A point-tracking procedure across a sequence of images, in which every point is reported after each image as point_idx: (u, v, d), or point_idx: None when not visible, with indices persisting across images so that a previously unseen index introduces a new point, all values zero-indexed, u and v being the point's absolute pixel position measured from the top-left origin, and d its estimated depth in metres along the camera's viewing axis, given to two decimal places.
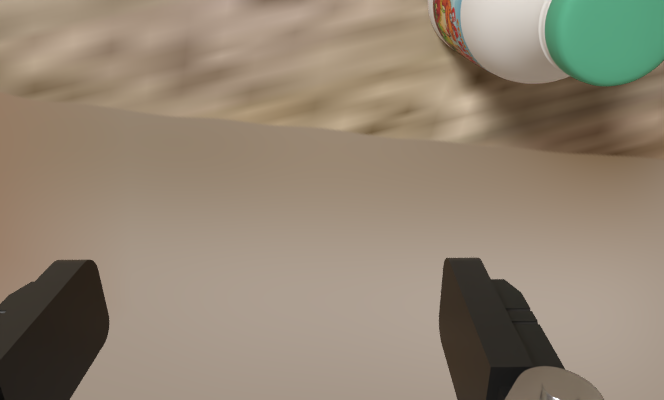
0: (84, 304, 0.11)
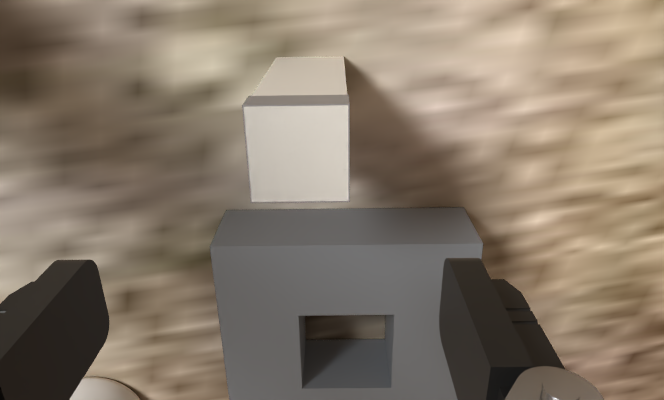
0: (84, 304, 0.11)
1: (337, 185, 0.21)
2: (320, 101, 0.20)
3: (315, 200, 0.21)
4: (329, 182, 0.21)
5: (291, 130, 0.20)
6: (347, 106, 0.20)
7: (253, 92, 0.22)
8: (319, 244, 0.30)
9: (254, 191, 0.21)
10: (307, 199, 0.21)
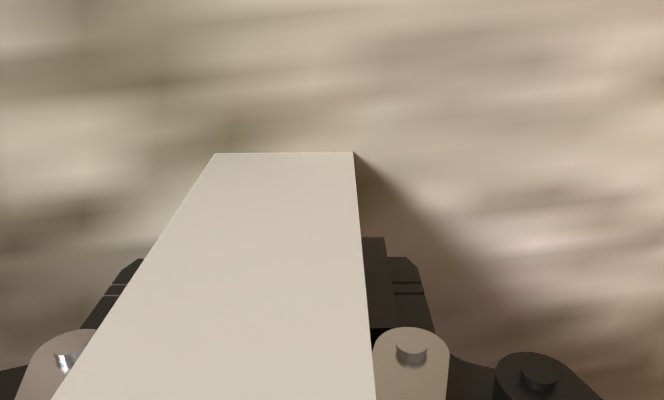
0: None
1: None
2: None
3: None
4: None
5: None
6: None
7: None
8: None
9: None
10: None
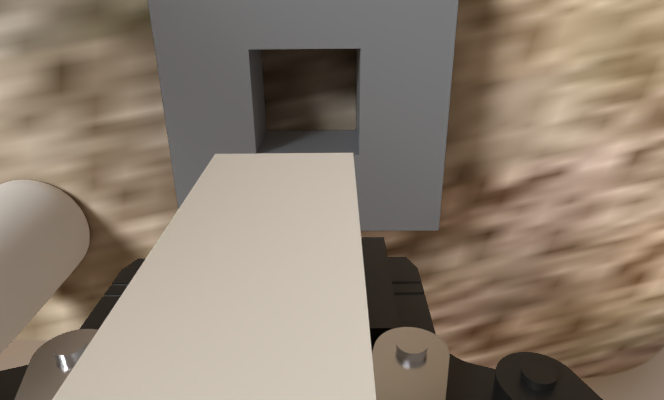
0: None
1: None
2: None
3: None
4: None
5: None
6: None
7: None
8: None
9: None
10: None
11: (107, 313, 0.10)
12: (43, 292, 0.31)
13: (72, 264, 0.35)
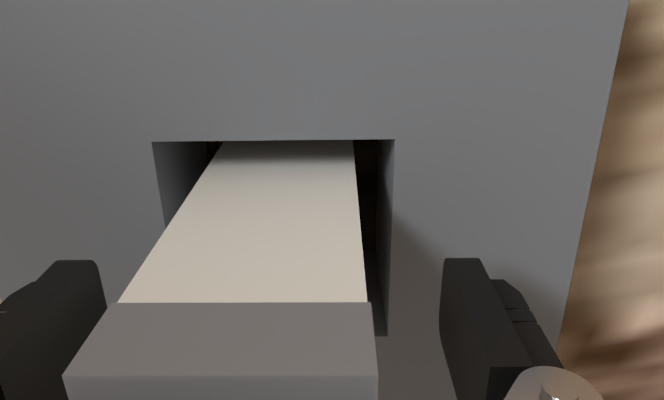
0: (85, 304, 0.11)
1: None
2: (294, 349, 0.07)
3: None
4: None
5: None
6: (372, 382, 0.07)
7: (135, 275, 0.09)
8: None
9: None
10: None
11: None
12: None
13: None
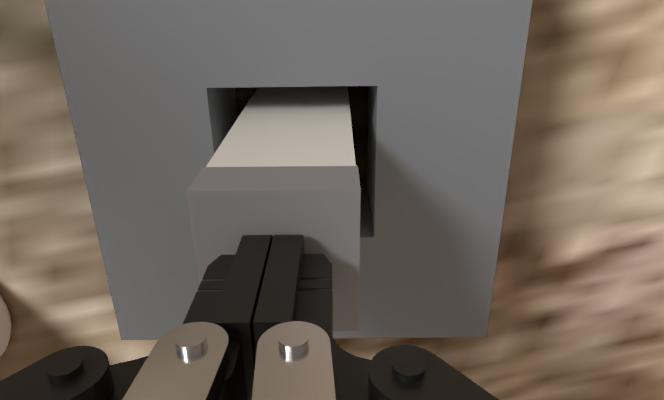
0: None
1: (340, 308, 0.13)
2: (313, 182, 0.13)
3: None
4: None
5: (266, 228, 0.12)
6: (357, 193, 0.12)
7: (212, 157, 0.14)
8: None
9: None
10: None
11: (206, 308, 0.10)
12: None
13: None
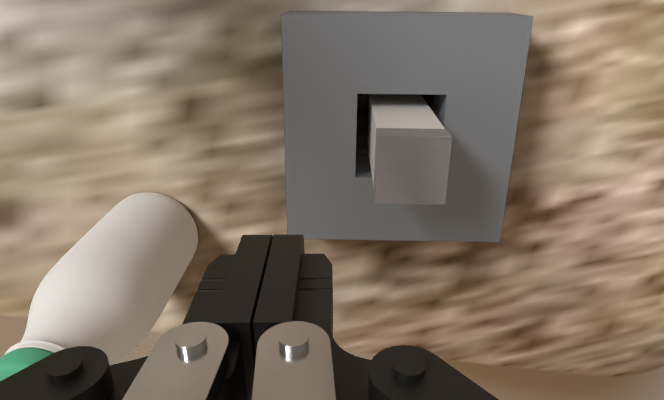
0: None
1: (437, 192, 0.30)
2: (430, 133, 0.29)
3: (420, 202, 0.30)
4: (432, 190, 0.30)
5: (409, 153, 0.29)
6: (450, 137, 0.28)
7: (376, 125, 0.31)
8: (381, 15, 0.33)
9: (378, 195, 0.30)
10: (415, 201, 0.30)
11: (206, 308, 0.10)
12: (174, 285, 0.38)
13: (188, 264, 0.42)
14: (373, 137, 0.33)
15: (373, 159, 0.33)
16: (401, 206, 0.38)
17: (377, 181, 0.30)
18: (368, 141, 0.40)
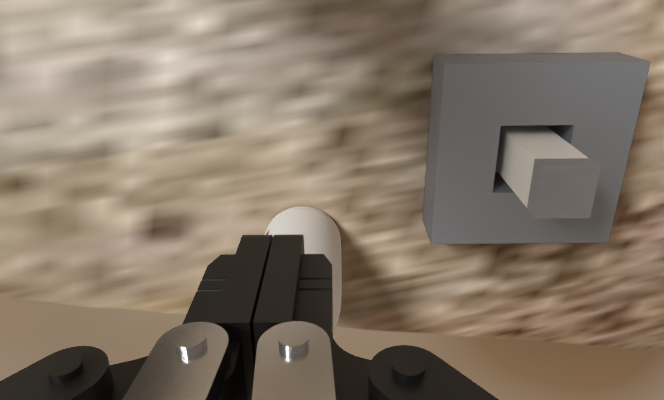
0: None
1: (585, 209, 0.38)
2: (582, 163, 0.37)
3: (570, 217, 0.38)
4: (581, 207, 0.37)
5: (566, 179, 0.37)
6: (600, 167, 0.36)
7: (531, 155, 0.38)
8: (526, 63, 0.40)
9: (537, 212, 0.38)
10: (566, 216, 0.38)
11: (206, 308, 0.10)
12: None
13: None
14: (519, 162, 0.41)
15: (520, 181, 0.41)
16: (528, 215, 0.45)
17: (538, 201, 0.37)
18: None
